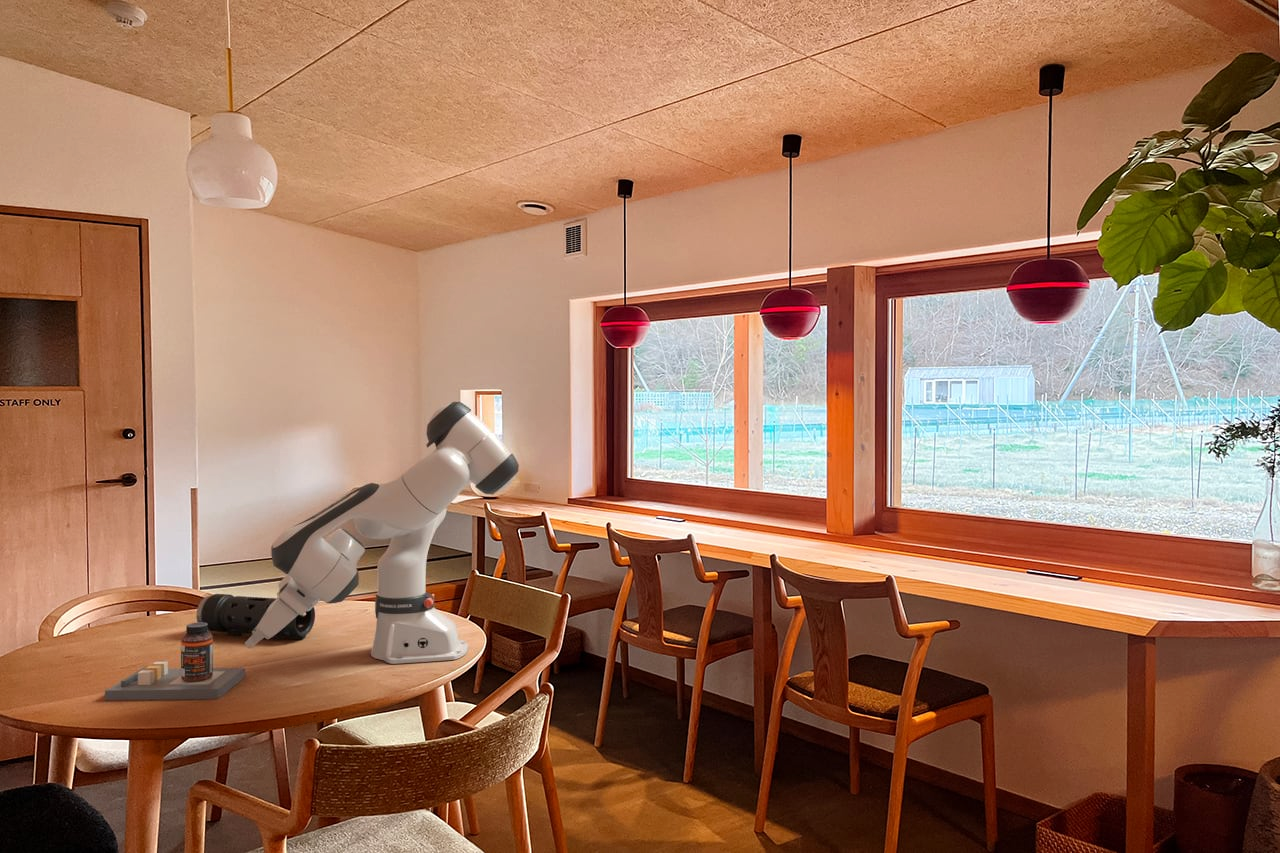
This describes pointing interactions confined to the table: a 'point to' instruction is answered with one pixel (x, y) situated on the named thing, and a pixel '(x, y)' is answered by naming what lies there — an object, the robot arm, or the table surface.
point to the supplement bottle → (196, 653)
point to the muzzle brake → (247, 616)
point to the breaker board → (173, 684)
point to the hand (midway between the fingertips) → (251, 640)
